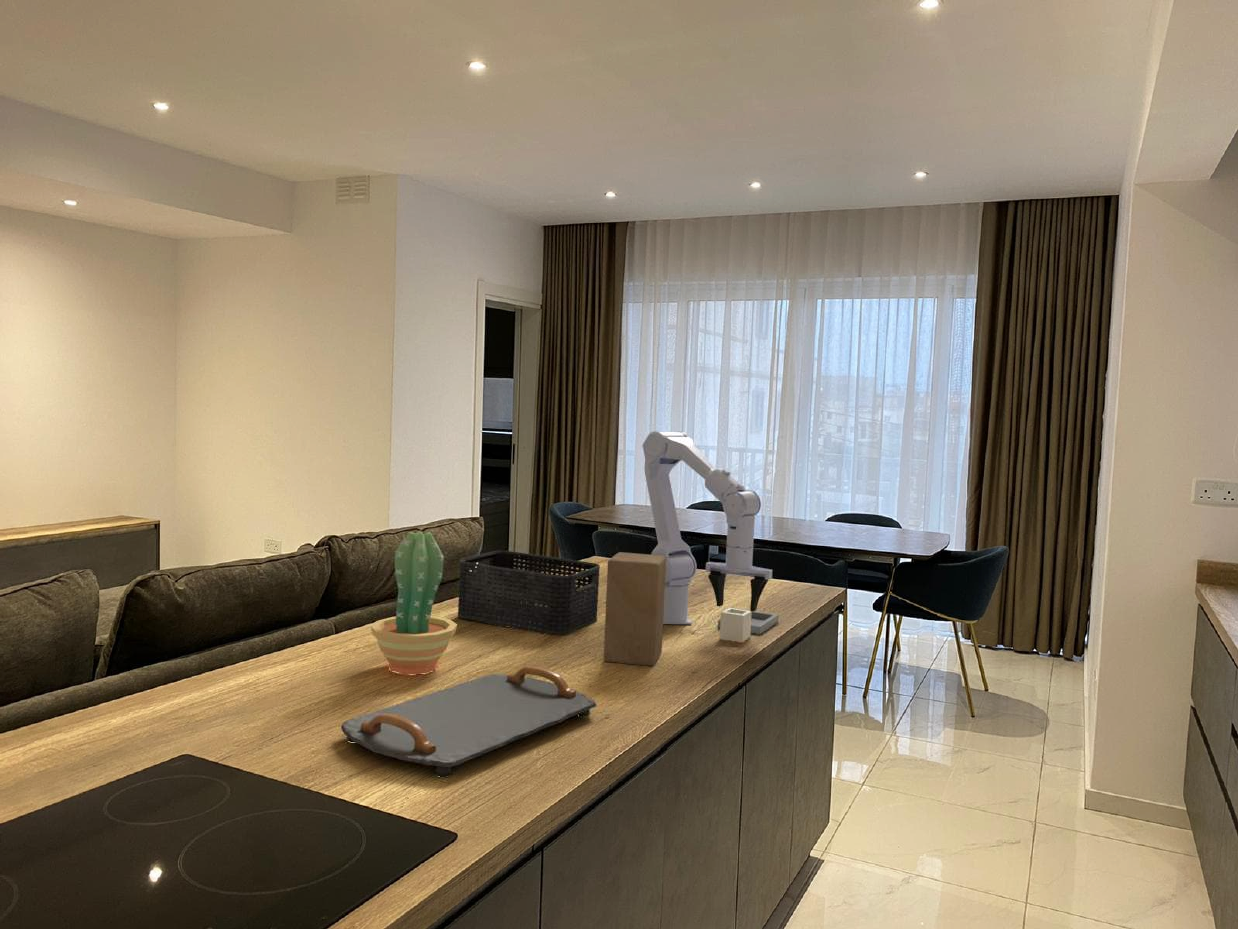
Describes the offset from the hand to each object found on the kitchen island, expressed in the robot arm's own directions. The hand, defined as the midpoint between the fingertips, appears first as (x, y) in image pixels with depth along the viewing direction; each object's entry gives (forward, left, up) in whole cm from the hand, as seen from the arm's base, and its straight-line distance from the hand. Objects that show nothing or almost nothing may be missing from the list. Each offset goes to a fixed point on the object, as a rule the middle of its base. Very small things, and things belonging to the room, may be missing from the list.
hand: (736, 608), depth 197 cm
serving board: (-55, -52, -7) cm, 77 cm away
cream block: (0, 0, -7) cm, 7 cm away
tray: (+7, +11, -7) cm, 15 cm away
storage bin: (-44, +16, -7) cm, 48 cm away
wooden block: (-25, -15, -7) cm, 30 cm away
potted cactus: (-67, -22, -7) cm, 71 cm away
